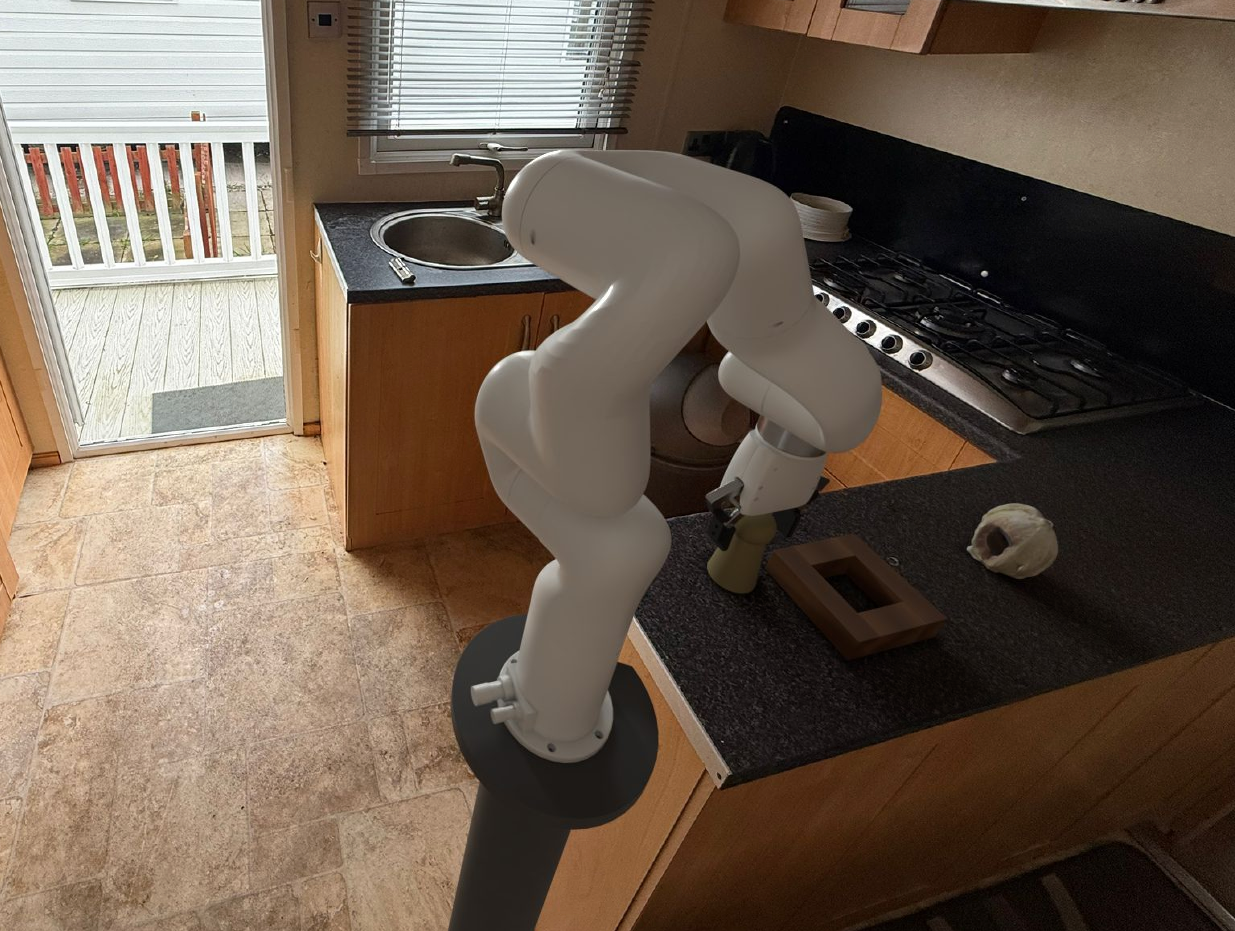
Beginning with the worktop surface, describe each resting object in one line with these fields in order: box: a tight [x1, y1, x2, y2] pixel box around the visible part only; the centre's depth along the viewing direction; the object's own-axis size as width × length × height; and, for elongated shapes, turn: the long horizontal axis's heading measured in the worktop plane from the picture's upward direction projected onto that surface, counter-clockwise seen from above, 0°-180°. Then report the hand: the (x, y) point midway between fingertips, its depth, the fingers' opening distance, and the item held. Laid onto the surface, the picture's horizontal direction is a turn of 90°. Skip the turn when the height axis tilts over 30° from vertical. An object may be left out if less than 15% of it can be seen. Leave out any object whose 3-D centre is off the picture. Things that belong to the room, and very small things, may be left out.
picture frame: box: [764, 533, 948, 662], centre depth 84 cm, size 14×14×4 cm
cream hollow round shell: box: [966, 503, 1059, 580], centre depth 90 cm, size 9×8×10 cm
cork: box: [706, 507, 778, 595], centre depth 85 cm, size 6×6×11 cm
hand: (748, 535), depth 84 cm, fingers open, 9 cm apart
